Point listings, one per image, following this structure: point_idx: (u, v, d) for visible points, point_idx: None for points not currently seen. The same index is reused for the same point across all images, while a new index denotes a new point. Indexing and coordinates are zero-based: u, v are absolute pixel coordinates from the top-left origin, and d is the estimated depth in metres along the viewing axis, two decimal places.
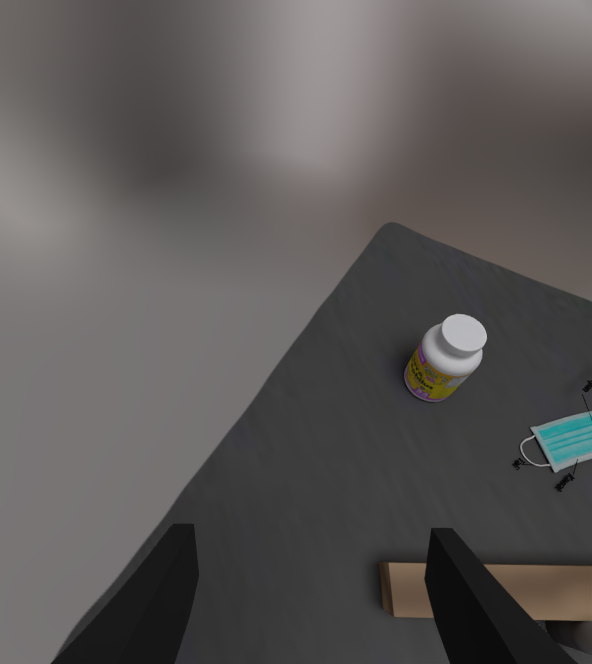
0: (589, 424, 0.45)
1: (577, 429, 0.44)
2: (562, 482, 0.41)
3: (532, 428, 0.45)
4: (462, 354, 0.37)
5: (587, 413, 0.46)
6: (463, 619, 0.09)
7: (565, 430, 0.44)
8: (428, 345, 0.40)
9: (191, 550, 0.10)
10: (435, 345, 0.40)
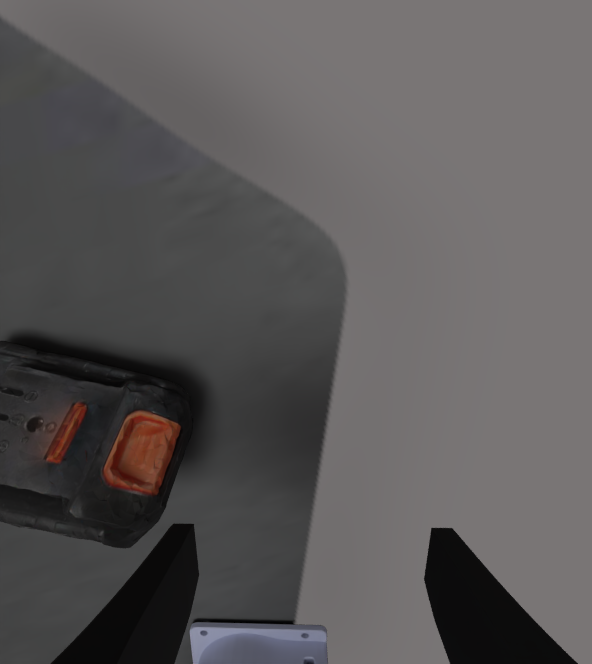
0: None
1: None
2: None
3: None
4: None
5: None
6: (463, 619, 0.09)
7: None
8: None
9: (191, 550, 0.10)
10: None
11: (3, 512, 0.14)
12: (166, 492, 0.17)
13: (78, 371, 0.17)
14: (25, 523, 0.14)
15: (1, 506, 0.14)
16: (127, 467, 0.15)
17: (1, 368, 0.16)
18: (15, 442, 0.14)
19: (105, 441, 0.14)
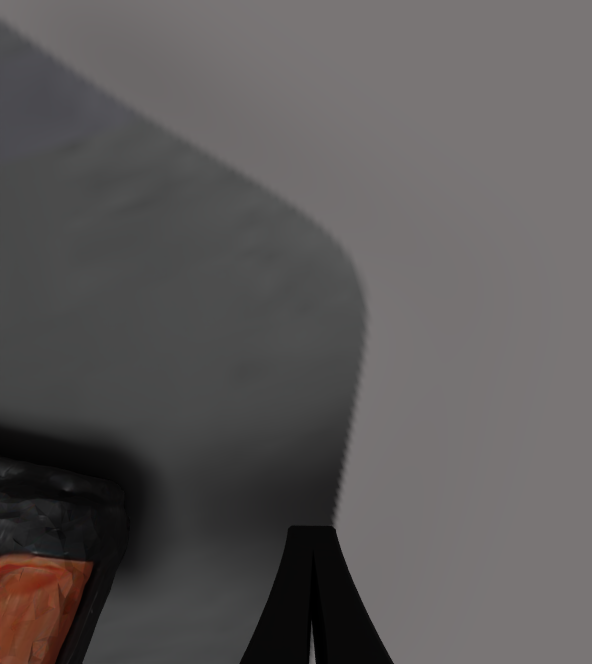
0: None
1: None
2: None
3: None
4: None
5: None
6: (318, 616, 0.09)
7: None
8: None
9: None
10: None
11: None
12: None
13: None
14: None
15: None
16: None
17: None
18: None
19: None
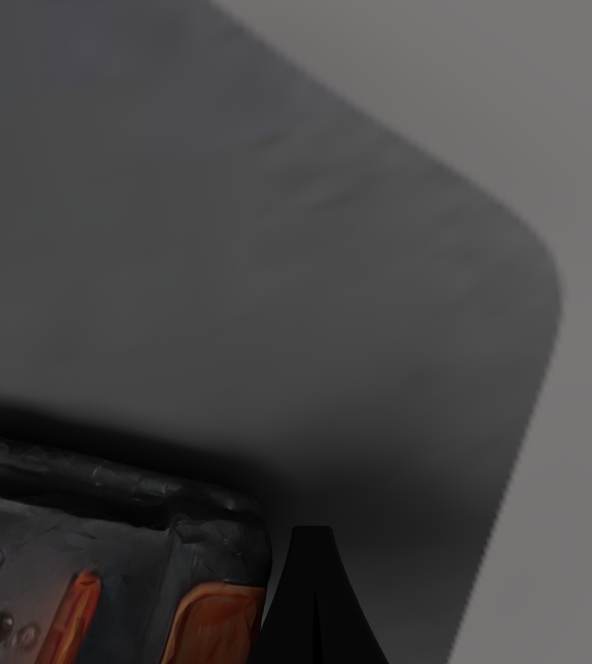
0: None
1: None
2: None
3: None
4: None
5: None
6: (314, 616, 0.09)
7: None
8: None
9: None
10: None
11: None
12: None
13: (82, 486, 0.09)
14: None
15: None
16: None
17: None
18: None
19: None
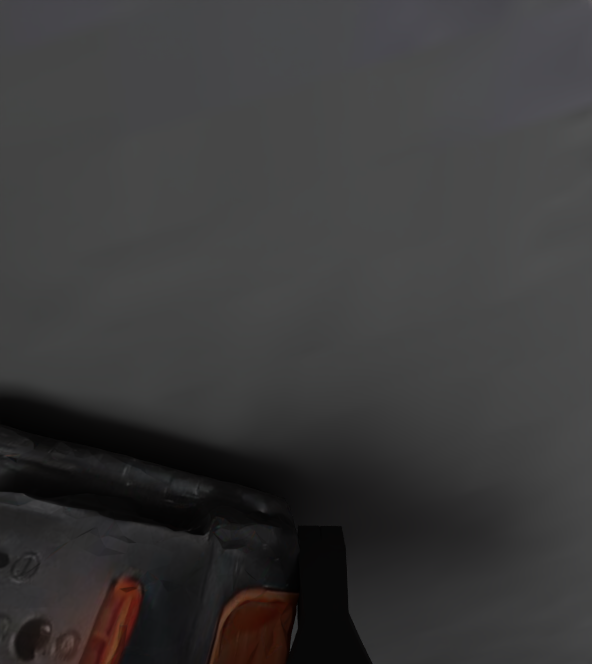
0: None
1: None
2: None
3: None
4: None
5: None
6: (301, 616, 0.09)
7: None
8: None
9: None
10: None
11: None
12: None
13: (113, 486, 0.09)
14: None
15: None
16: None
17: None
18: None
19: None
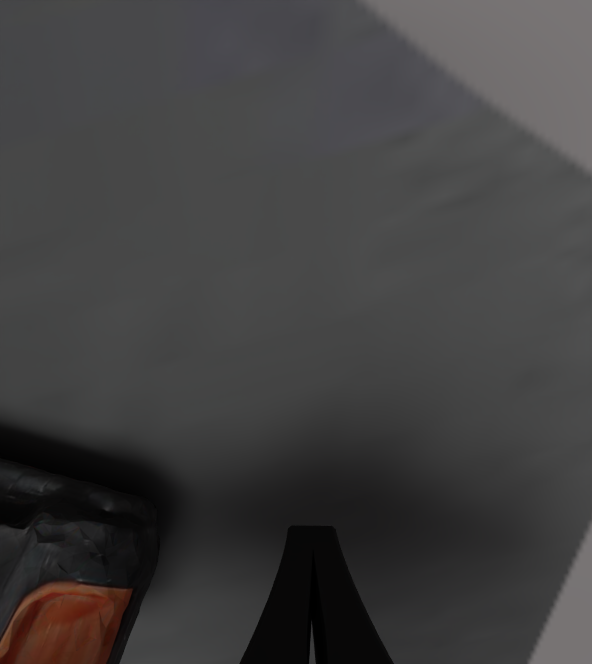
0: None
1: None
2: None
3: None
4: None
5: None
6: (318, 616, 0.09)
7: None
8: None
9: None
10: None
11: None
12: None
13: None
14: None
15: None
16: None
17: None
18: None
19: None
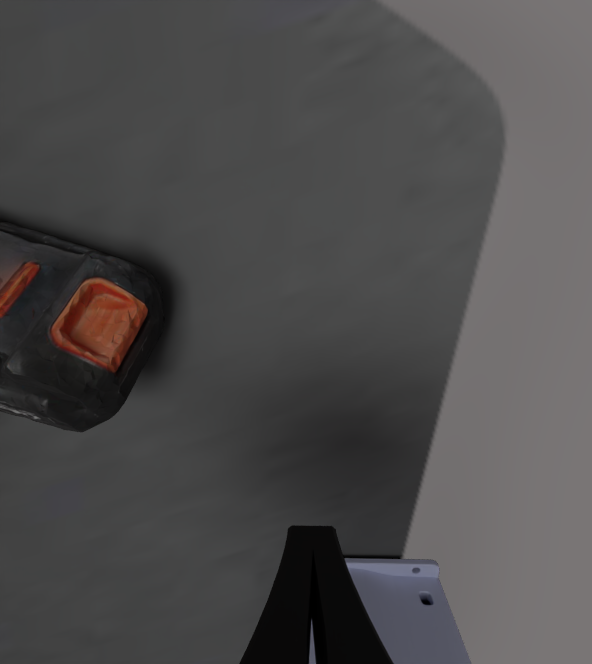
0: None
1: None
2: None
3: None
4: None
5: None
6: (318, 616, 0.09)
7: None
8: None
9: None
10: None
11: None
12: (126, 381, 0.15)
13: (36, 241, 0.15)
14: None
15: None
16: (80, 337, 0.13)
17: None
18: None
19: (57, 300, 0.13)
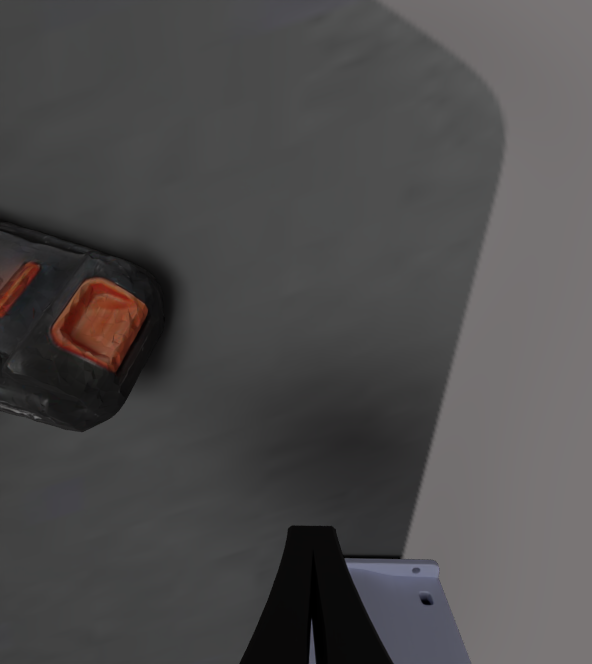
0: None
1: None
2: None
3: None
4: None
5: None
6: (318, 616, 0.09)
7: None
8: None
9: None
10: None
11: None
12: (127, 380, 0.15)
13: (36, 241, 0.15)
14: None
15: None
16: (81, 337, 0.13)
17: None
18: None
19: (58, 300, 0.13)
